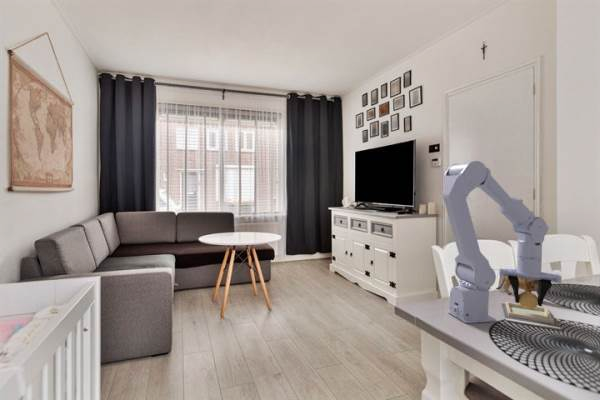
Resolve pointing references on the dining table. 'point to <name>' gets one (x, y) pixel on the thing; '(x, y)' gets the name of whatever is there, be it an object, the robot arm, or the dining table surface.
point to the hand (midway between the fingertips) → (528, 303)
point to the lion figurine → (521, 284)
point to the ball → (528, 300)
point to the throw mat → (529, 316)
